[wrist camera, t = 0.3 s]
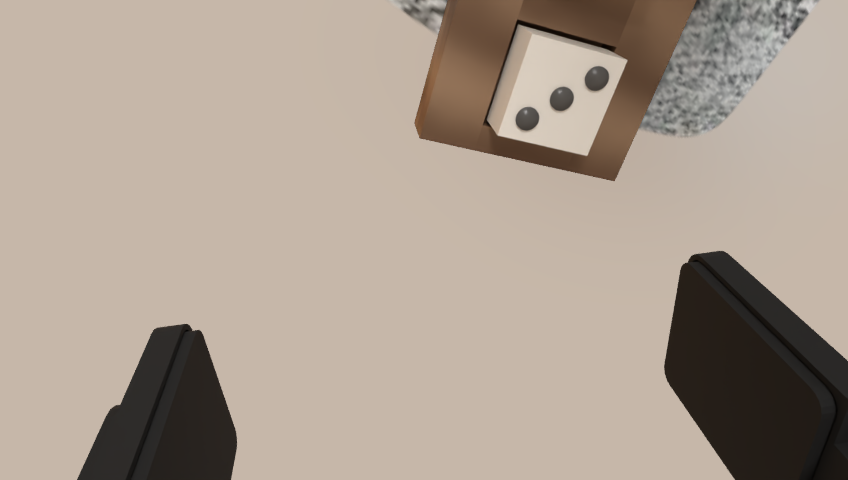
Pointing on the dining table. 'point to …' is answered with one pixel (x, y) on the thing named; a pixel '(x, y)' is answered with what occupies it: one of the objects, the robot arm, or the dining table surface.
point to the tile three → (554, 90)
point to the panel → (564, 16)
